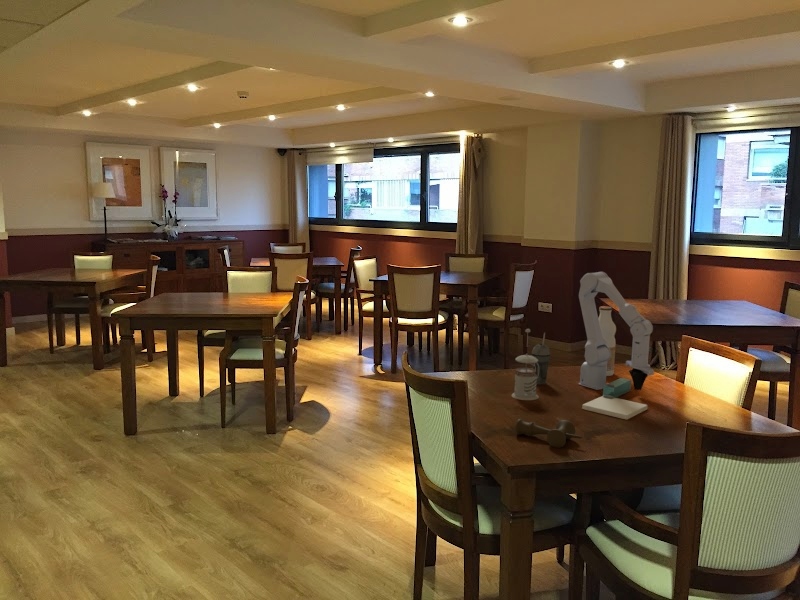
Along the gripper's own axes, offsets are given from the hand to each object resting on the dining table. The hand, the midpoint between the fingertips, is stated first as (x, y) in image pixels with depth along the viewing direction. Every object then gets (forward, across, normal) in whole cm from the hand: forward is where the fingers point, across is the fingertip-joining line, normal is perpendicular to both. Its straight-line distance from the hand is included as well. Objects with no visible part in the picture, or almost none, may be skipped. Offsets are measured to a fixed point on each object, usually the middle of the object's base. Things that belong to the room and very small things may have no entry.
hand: (637, 389), depth 244 cm
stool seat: (+3, -12, +17) cm, 21 cm away
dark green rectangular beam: (+2, +3, +6) cm, 8 cm away
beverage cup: (+2, +24, +28) cm, 36 cm away
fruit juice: (+3, +32, -4) cm, 33 cm away
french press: (+3, +8, +40) cm, 41 cm away
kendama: (+3, -36, +53) cm, 64 cm away
